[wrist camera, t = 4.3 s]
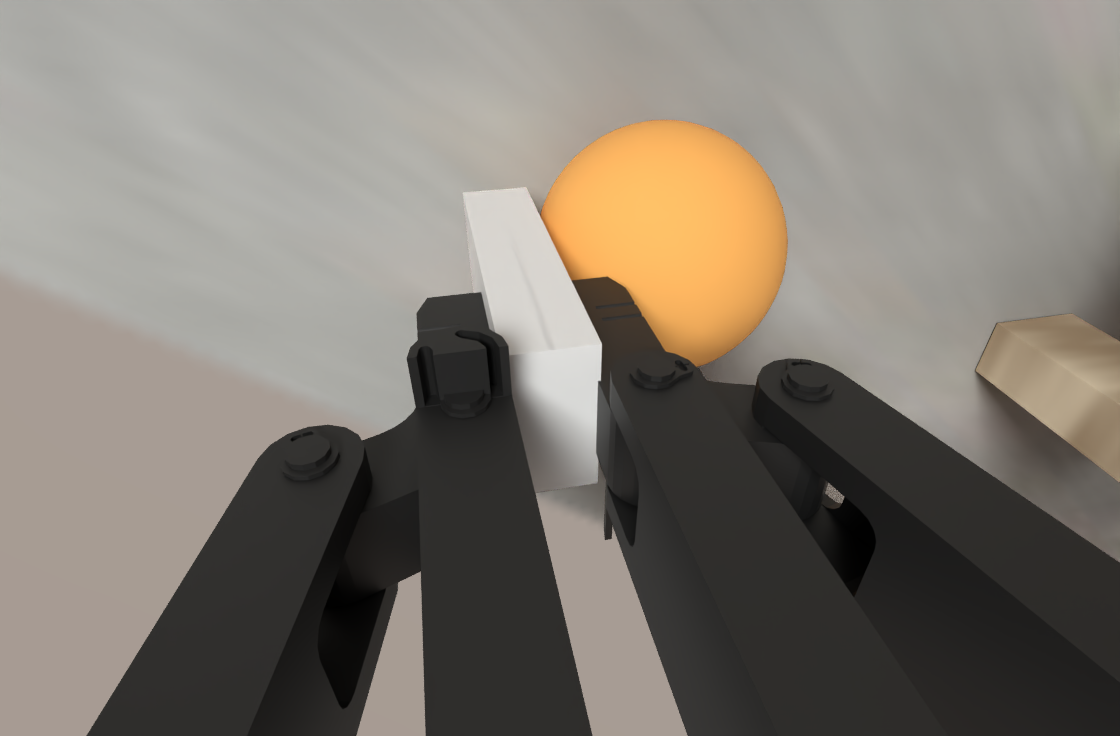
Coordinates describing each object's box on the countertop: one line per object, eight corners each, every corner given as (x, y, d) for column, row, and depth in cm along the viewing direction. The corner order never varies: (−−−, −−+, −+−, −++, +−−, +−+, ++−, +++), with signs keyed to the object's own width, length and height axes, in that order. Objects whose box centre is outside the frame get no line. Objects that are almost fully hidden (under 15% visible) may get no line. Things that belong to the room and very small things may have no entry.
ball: (709, 85, 15) (880, 143, 11) (685, 285, 19) (811, 388, 14) (495, 107, 14) (603, 183, 10) (509, 322, 17) (594, 451, 13)
